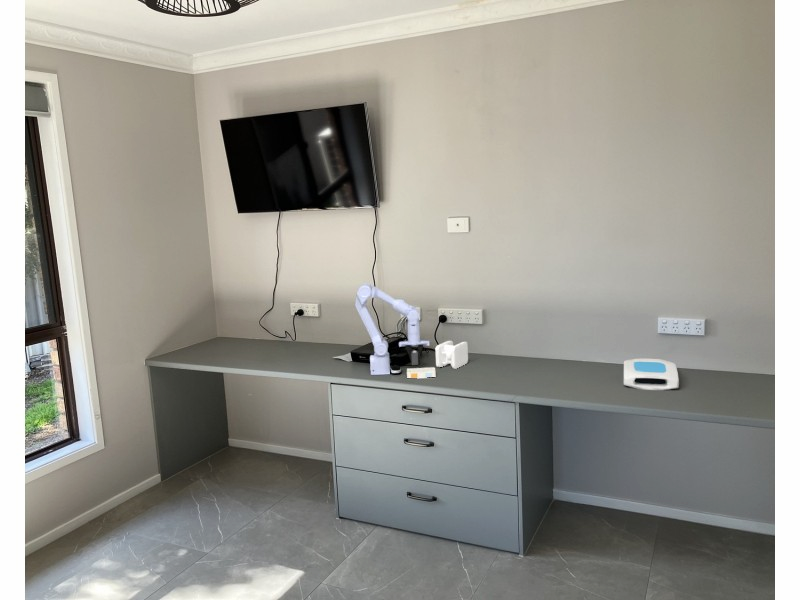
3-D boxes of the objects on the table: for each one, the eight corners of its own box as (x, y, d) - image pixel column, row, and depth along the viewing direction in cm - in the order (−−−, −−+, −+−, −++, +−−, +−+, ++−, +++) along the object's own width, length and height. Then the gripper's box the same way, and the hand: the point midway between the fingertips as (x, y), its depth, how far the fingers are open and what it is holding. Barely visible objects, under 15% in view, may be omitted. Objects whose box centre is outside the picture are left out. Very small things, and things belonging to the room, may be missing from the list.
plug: (411, 365, 302) (411, 351, 301) (411, 363, 305) (411, 350, 304) (418, 364, 302) (417, 351, 301) (418, 363, 305) (417, 350, 304)
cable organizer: (454, 371, 300) (453, 347, 298) (435, 369, 306) (434, 345, 304) (468, 363, 313) (468, 340, 311) (450, 361, 318) (449, 339, 317)
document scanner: (673, 372, 281) (674, 359, 280) (678, 391, 255) (679, 376, 254) (623, 370, 288) (623, 357, 287) (623, 388, 262) (623, 374, 261)
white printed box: (407, 379, 292) (406, 372, 291) (407, 374, 299) (407, 368, 298) (435, 377, 291) (435, 371, 291) (435, 373, 298) (434, 367, 298)
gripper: (398, 335, 297) (399, 363, 299) (429, 334, 297) (430, 362, 299) (398, 332, 304) (399, 359, 306) (428, 330, 304) (429, 358, 306)
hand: (414, 360), depth 303 cm, fingers closed on plug, 3 cm apart
